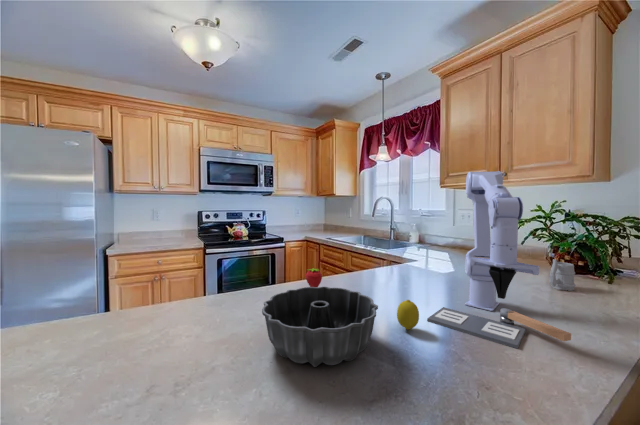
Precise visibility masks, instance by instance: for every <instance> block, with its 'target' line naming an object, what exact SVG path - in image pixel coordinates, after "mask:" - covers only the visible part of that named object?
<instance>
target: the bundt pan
mask: <svg viewBox="0 0 640 425" xmlns="http://www.w3.org/2000/svg"><path fill="white" fill-rule="evenodd" d="M378 309H379V305H378V304H376V303H374V300H373V298H372V297H370V296H367V295H364V294H362V293H361V292H360V291H354V290H353V291H352V290H351V289H347V288H342V287H329V286H318V287H310V286H306V287H299V288H296V289H288V290H286V291H284V292H279V293H276V294H274V295H272V296H271V297H270V298H269V299H268V300H265V301H264V302H263V307H262V309H261V313H262V315H263V317H264V320H265V324H266V330H267V336H268V339H269V341H270V343H271V344H272V345H273V346H274V349H275V351H276V353H277V354H278V355H279V356H280V357H281V358H282V357H283V358H289V360H290V361H292V362H294V363H295V364H306V363H309V364H310V365H311V366H312V367H314V368H316V367H317V366H319V365H321V364H322V363H323V364H325V365H327V366H335V365H338V364H340V363H342V362H343V361H346V362H351V361H353V360H355V358H357V355H358V354H360V353H362V352H363V351H364V350H365V349H366V348H367V347H368V345H369V343H370V340H371V336H372V334H373V331H374V325H375V324H374V323H375V318H376V316H377V310H378Z"/></svg>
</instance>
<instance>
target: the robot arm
mask: <svg viewBox="0 0 640 425" xmlns="http://www.w3.org/2000/svg"><path fill="white" fill-rule="evenodd" d="M503 182H504V176H503V173H502V172H501V171H500V170H497V171H468V173H467V174H466V178H465V192H466V197H467V199H470V200H471V201H472V207H473V234H474V240H473V241H474V248H472V249H470V250H468V251H467V252H466V254H465V260H464V271H465V274H466V275H467V277H469V292H468V293H469V294H468V295H469V297H468V298H469V299H468V300H467V301H466V302H465V303H464V305H465V306H469V307H473V308H478V309H481V310H486V311H491V312H494V310H495V309H496V308H497V307H498V306H499V305H500V302H499V301H497V298H498V299H503V300H505V299H506V297H507V292H508V289H509V286H510V284H511V282H512V280H513V278H514V277H515V275H516V274H517V273H525V274H532V275H534V276H539V275H540V265H536V264H528V263H525V262H524V263H523V262H518V260H517V258H518V235H519V221H520V220H521V219H522V217H523V212H524V203H523V200H522V198H521V197H520V196H513V195H512V194H511V193H510V192H509V190H508V188H507V187H506V186H504V185H503V184H504V183H503Z"/></svg>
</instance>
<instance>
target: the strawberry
mask: <svg viewBox="0 0 640 425" xmlns="http://www.w3.org/2000/svg"><path fill="white" fill-rule="evenodd" d="M311 265H312V267H313V268H309V269H307V272H306V274H305V279H306V282H307V284H308V287H320V284H321V282H322V279H323V275H322V274H323V273H321V269H319V268H315V267H314V265H313V264H311Z"/></svg>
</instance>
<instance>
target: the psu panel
mask: <svg viewBox="0 0 640 425" xmlns="http://www.w3.org/2000/svg"><path fill="white" fill-rule="evenodd" d="M426 321H427V322H428V323H431V324H434V325H439V326H441V327H445V328H448V329H453V330H455V331H459V332H462V333H464V334H469V335H470V336H475V337H478V338H481V339H484V340H487V341H490V342H494V343H497V344H500V345H504V346H507V347H510V348H512V349H513V348H514V349H516V350H517V349H518V348H519V346H520V344H521V343H522V340H523V338H524V336H525V334H526V332H527V328H524V327H520V326H517V325H514V326H513V325H510V324H506V323H502V322H500V321H498V320H494V319H490V318H485V317H483V316H482V317H481V316H478V315H475V314H470V313H467V312H463V311H459V310H455V309H453V308H452V309H451V308H448V307H441V308H440V309H438V310H437V311H436V312H434V313H433V314H432V315H430V316H429V317H427V320H426Z"/></svg>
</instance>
